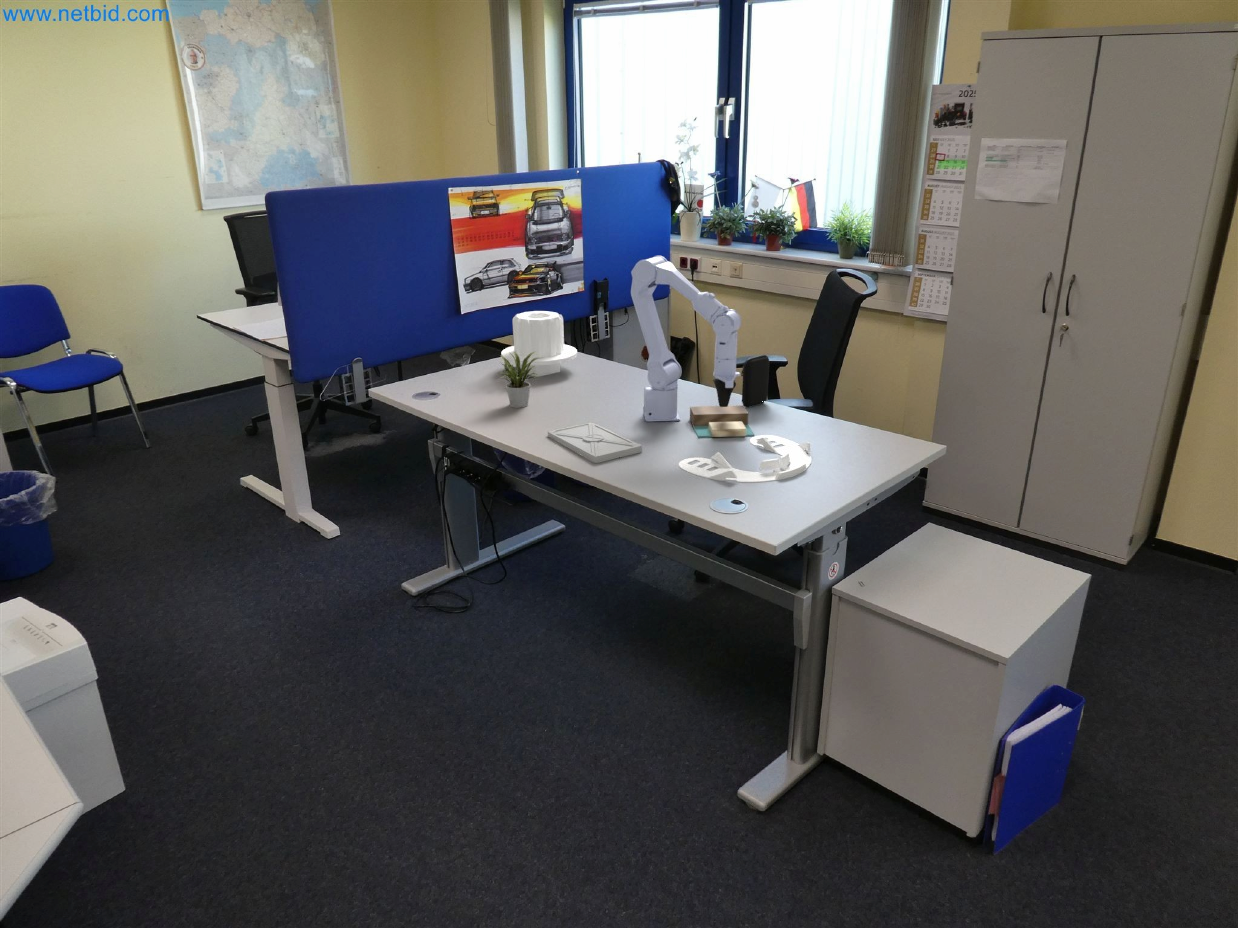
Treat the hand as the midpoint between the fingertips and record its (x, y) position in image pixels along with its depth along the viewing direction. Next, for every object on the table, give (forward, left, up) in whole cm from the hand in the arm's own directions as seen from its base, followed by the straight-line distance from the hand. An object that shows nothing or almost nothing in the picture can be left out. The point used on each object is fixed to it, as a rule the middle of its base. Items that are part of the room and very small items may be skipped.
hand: (723, 406), depth 232 cm
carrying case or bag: (+12, +17, -6) cm, 22 cm away
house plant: (-55, +24, -6) cm, 60 cm away
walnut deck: (0, +4, -6) cm, 7 cm away
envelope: (-35, -11, -7) cm, 38 cm away
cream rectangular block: (0, -6, -4) cm, 7 cm away
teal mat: (0, -4, -6) cm, 7 cm away
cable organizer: (+4, -26, -7) cm, 27 cm away
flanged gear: (-51, +60, -6) cm, 79 cm away
